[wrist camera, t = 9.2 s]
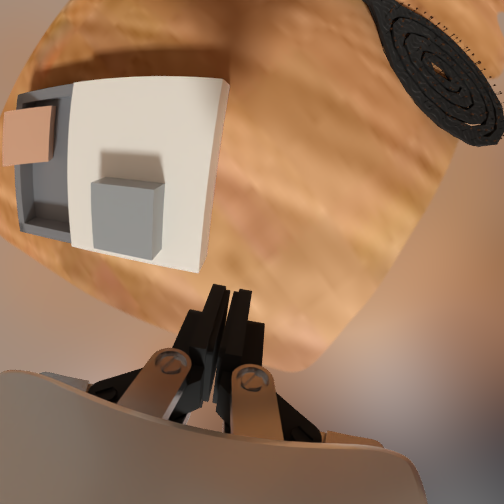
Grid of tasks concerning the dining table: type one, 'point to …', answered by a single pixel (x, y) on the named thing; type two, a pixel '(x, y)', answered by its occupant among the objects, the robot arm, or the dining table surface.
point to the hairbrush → (431, 83)
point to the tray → (46, 172)
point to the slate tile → (127, 216)
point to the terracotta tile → (28, 135)
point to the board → (149, 154)
